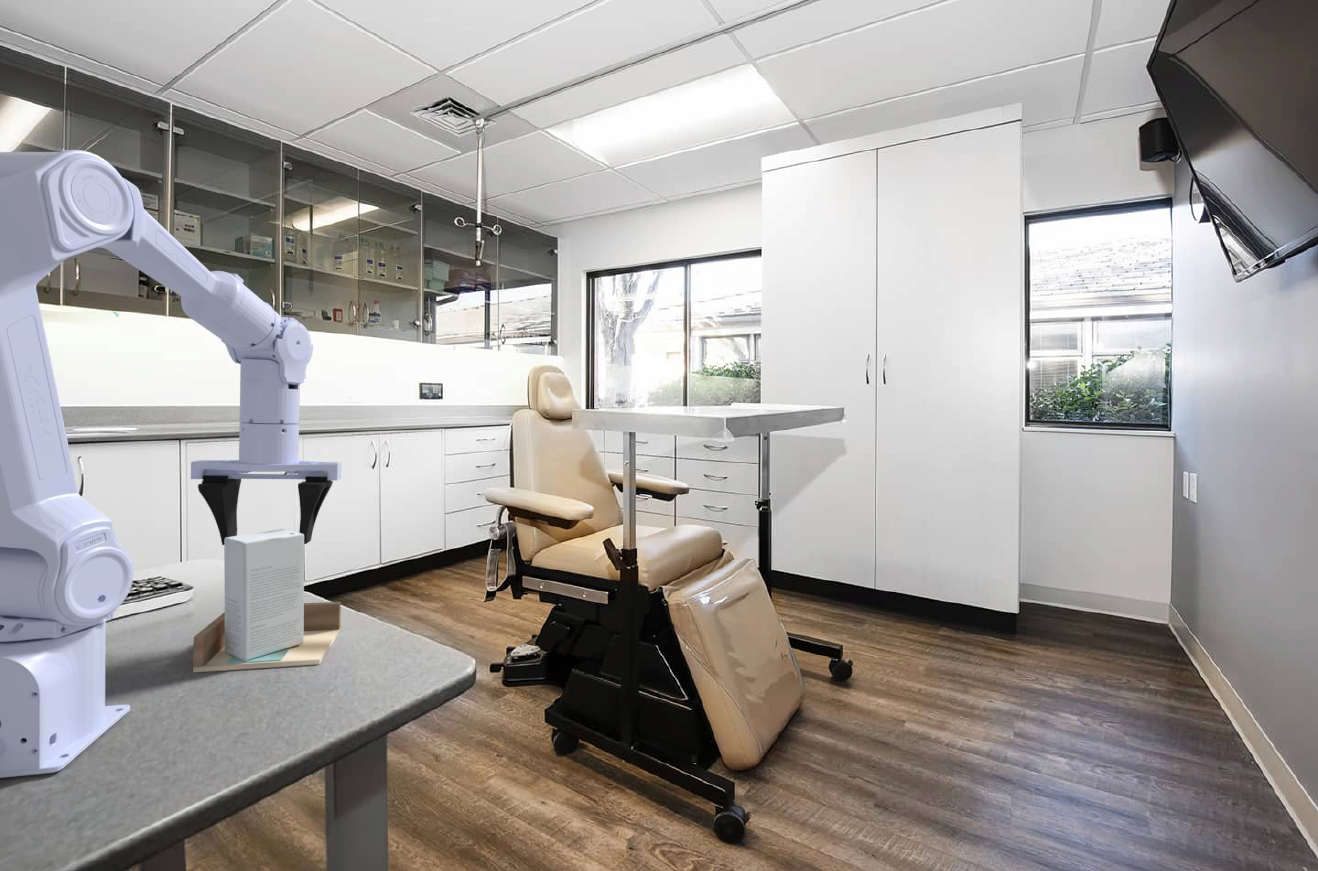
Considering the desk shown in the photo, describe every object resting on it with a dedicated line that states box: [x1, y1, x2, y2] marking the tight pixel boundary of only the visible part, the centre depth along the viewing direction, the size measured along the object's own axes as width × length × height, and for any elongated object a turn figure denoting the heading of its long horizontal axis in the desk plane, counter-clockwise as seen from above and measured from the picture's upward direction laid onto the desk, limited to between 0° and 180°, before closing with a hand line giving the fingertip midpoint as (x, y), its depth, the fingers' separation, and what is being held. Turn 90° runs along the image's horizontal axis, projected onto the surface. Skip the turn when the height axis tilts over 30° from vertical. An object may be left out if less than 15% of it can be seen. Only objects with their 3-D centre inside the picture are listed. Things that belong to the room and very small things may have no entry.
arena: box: [192, 601, 342, 673], centre depth 66 cm, size 10×11×4 cm
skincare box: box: [223, 528, 305, 661], centre depth 65 cm, size 6×4×12 cm
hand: (267, 542), depth 71 cm, fingers open, 7 cm apart
